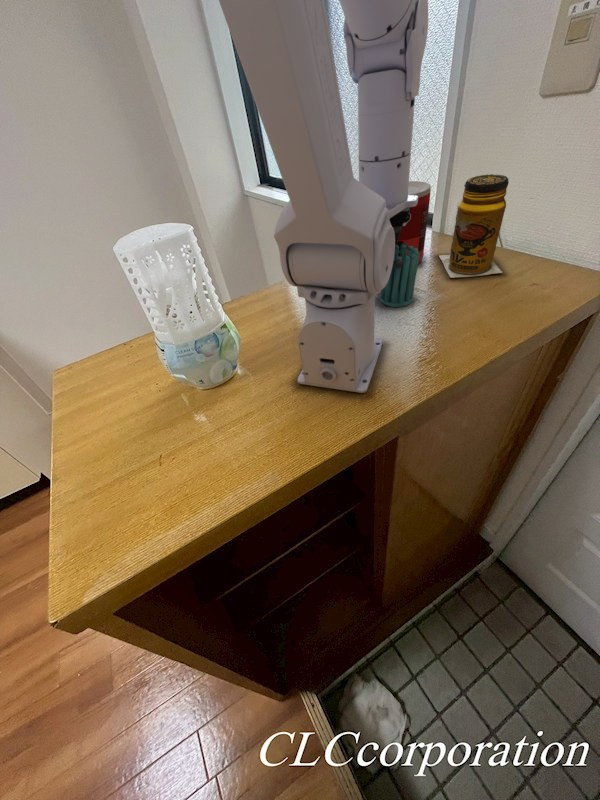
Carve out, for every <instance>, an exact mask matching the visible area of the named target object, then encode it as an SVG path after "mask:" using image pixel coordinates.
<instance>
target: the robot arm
mask: <svg viewBox="0 0 600 800" xmlns="http://www.w3.org/2000/svg"><path fill="white" fill-rule="evenodd" d="M338 1H339V4H340V7H341V10H342V13H343V16H344V21H343V27H342V31H343V39H344V42H345V48H346V60H347V67H348V73H349V77H350V78H351V80H352V82H353V83H354V84H356V85H357V133H358V134H357V136H358V137H357V141H358V143H357V145H358V146H357V147H358V179H356V178H355V177H354V172H353V165H352V160H351V154H350V146H349V141H348V134H347V131H346V130H347V129H346V125H345V124H346V123H345V117H344V111H343V104H342V100H341V99H342V98H341V93H340V86H339V81H338V75H337V69H336V63H335V58H334V50H333V45H332V39H331V33H330V27H329V20H328V15H327V9H326V2H325V0H218V2H219V5H220V7H221V10H222V13H223V16H224V20H225V22H226V25H227V27H228V30H229V33H230V36H231V38H232V41H233V44H234V47H235V50H236V53H237V56H238V58H239V61H240V64H241V66H242V69H243V72H244V75H245V78H246V81H247V83H248V86H249V89H250V92H251V94H252V97H253V100H254V103H255V106H256V109H257V112H258V114H259V117H260V120H261V123H262V126H263V128H264V131H265V134H266V137H267V141H268V142H269V145H270V149H271V151H272V153H273V157H274V159H275V162H276V165H277V168H278V171H279V174H280V176H281V179H282V182H283V186H284V187H285V190H286V193H287V196H288V199H289V200H288V201H287V203H286V204H285V205H284V207H283V208H282V210H281V212H280V214H279V216H278V218H277V221H276V224H275V228H274V229H275V230H274V234H273V238H274V240H275V242H276V245H277V247H278V251H279V262H280V267H281V271H282V273H283V275H284V278H285V280H286V281H287V283H288V284H289V285H290V286H292V287H296V289H297V290H296V291H297V296H298V298H303V299H304V301H305V302H304V303H305V318H304V322H303V324H302V326H301V328H300V330H299V333H298V339H297V340H298V341H297V343H298V349H299V355H300V360H301V366H302V369H301V371H300V373H299V375H298V377H297V383H298V384H300V385H304V386H312V387H317V388H318V387H319V388H326V389H333V390H340V391H345V392H352V393H359V394H365V393H366V392H367V391H368V389H369V386H370V383H371V380H372V377H373V374H374V371H375V368H376V365H377V362H378V359H379V356H380V353H381V350H382V347H383V340H382V339H379V338H375V317H376V315H375V314H376V312H375V310H376V295H378V294H380V291H381V290H382V289H383V288H384V287H385V286H386V285H387V283H388V280H389V278H390V274H391V271H392V266H393V261H394V253H395V245H397V243H398V239H399V235H400V232H401V230H402V228H403V227H402V226H403V223H404V221H405V219H406V218H407V216H408V214H409V212H410V207H414V206H416V205H417V203H418V196H409V195H408V187H409V181H410V171H411V158H412V157H411V156H412V144H413V143H412V142H413V129H414V115H415V102H416V97H417V96H419V93H420V87H421V75H422V68H423V62H424V57H425V52H426V48H427V40H428V31H429V1H428V0H338Z"/></svg>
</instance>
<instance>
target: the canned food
mask: <svg viewBox="0 0 600 800" xmlns="http://www.w3.org/2000/svg"><path fill="white" fill-rule="evenodd" d="M431 187H432V186H431V184H430V183H428V182H425V181H419V180H411V181H410V180H409V187H408V195H409V196H418V203H417V205H416V206H414V207H410V212H409V214H408V216H407V218H406V219H405V221H404V223H403V226H402V227H403V228H402V230H401V232H400V235H399V239H398V243H397V245H398V246H399V254H398V257H399V256H400V246H401V244H402V243H407V244H408V247H409V246H413V248H417V249H418V252H419V254H420V255H419V261H418V265H420V264H421V262H422V260H423V257H424V252H425V243H426V237H427V236H426V235H427V234H426V233H427V226H428V219H429V212H430V211H429V209H430V201H431V191H432V190H431ZM406 256H407V250H406ZM406 256H405V257H406Z"/></svg>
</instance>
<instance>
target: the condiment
mask: <svg viewBox="0 0 600 800" xmlns="http://www.w3.org/2000/svg"><path fill="white" fill-rule="evenodd" d="M463 186H464V189H463V190H464V191H463V193H462V200H461V201H460V203H458V206H457V210H456V217H455V224H454V231H453V235H452V241H451V246H450V254H442V255H440V254H439V255H438V257H439V259H440V260H441V262H442V265H443V266H444V269H445V271H446V273H447V275H448V276H449V278H450V279H455V278H470V277H479V276H480V277H481V276H488V275H494V274H503V271H502V270H501V269H500V267H499V266H498V265H497V264H496V262H495V261H494V257H495V251H496V247H497V243H498V240H499V236H500V231H501V229H502V228H501V227H502V223H503V219H504V216H505V211H506V209H507V201H506V199H505V198H506V196H507V189H508V186H509V178H508V177H507V176H506V175H502V174H492V173H491V174H481V175H475V176H472V177H469V178H468V179H467V180H466V181H465V183H464V185H463Z"/></svg>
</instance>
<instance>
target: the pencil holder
mask: <svg viewBox="0 0 600 800" xmlns="http://www.w3.org/2000/svg"><path fill="white" fill-rule="evenodd" d="M406 250H407V256H406ZM398 254H399V246H398V245H395V253H394V261H393V266H392V271H391V274H390V278H389V280H388V283H387V285H386V286H385V287H384V288H383V289H382V290H381V291H380V292H379V301H380V302H381V303H382V304H383V305H385V306H387V307H392V308H400V307H405V306H408V305H410V304H411V303H412V301H413V297H414V291H415V286H416V279H417V273H418V267H419V264H418V261H419V255H420V254H419V252H418V249H417V248H413V246H409V247H408V244H407V243H402V244H401V246H400V256H399V257H398ZM405 256H406V257H405Z"/></svg>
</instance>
